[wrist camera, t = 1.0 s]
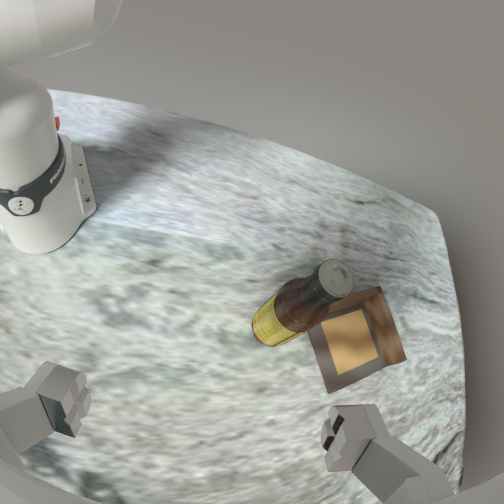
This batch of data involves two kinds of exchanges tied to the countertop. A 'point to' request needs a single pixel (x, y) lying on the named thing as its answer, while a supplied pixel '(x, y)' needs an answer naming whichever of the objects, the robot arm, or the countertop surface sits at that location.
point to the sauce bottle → (302, 303)
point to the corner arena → (356, 339)
